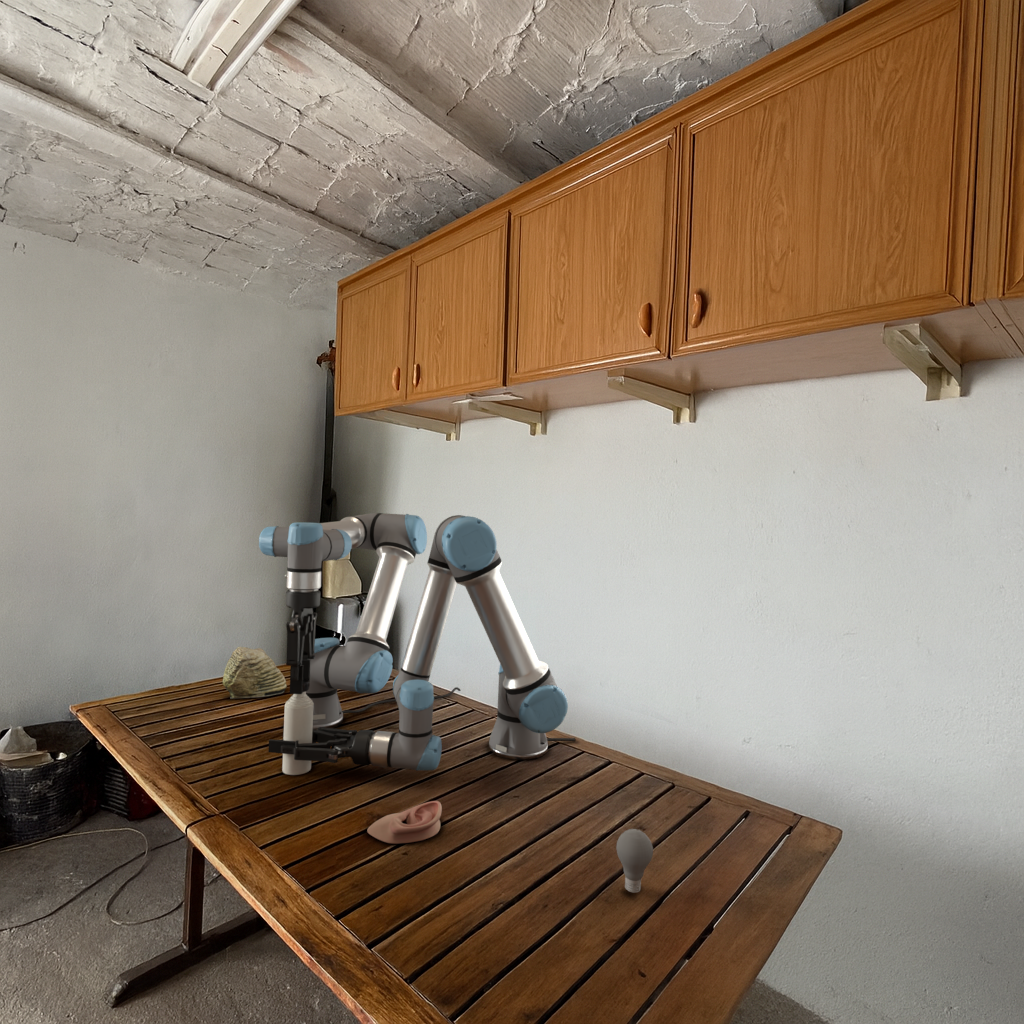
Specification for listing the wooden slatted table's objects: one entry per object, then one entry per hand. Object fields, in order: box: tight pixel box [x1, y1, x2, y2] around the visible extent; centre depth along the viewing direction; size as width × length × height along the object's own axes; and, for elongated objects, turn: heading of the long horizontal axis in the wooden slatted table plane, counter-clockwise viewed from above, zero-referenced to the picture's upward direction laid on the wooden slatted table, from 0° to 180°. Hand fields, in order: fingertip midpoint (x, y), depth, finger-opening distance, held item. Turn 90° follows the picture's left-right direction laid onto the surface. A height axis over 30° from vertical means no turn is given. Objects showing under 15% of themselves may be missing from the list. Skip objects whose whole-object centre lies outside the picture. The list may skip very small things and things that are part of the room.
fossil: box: [222, 646, 288, 699], centre depth 198 cm, size 9×18×15 cm, turn 132°
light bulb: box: [615, 828, 654, 894], centre depth 106 cm, size 6×6×10 cm
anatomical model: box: [366, 800, 443, 845], centre depth 122 cm, size 13×4×12 cm
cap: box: [303, 679, 309, 692], centre depth 146 cm, size 4×4×2 cm
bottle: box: [281, 692, 314, 776], centre depth 146 cm, size 6×6×20 cm
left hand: (299, 690), depth 146 cm, fingers closed on cap, 4 cm apart
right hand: (276, 739), depth 147 cm, fingers closed on bottle, 6 cm apart
